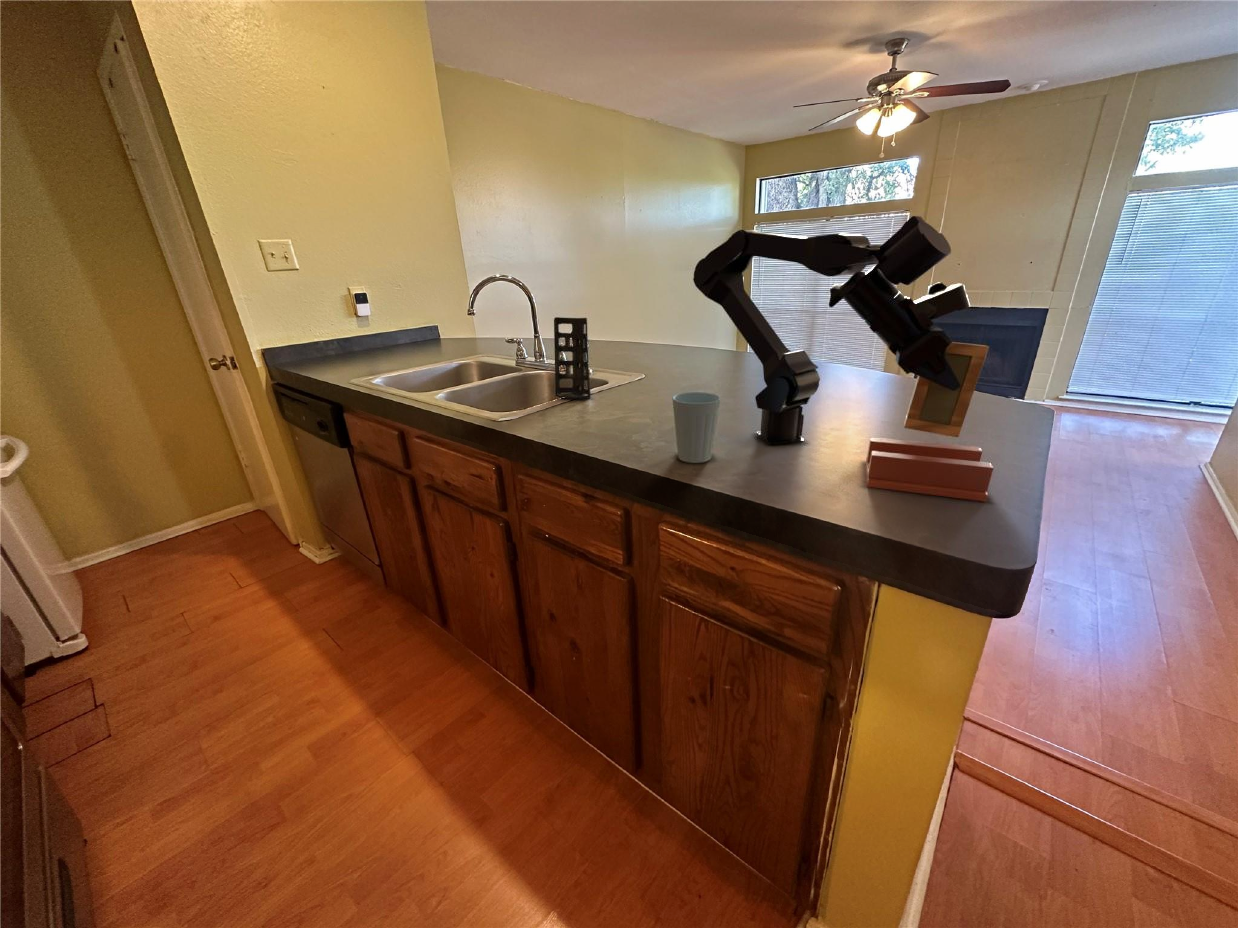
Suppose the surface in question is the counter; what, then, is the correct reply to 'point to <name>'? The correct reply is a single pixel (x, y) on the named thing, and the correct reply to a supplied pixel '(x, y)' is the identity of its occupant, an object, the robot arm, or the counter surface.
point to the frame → (947, 393)
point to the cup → (695, 425)
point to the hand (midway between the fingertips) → (954, 385)
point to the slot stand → (928, 468)
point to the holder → (577, 362)
